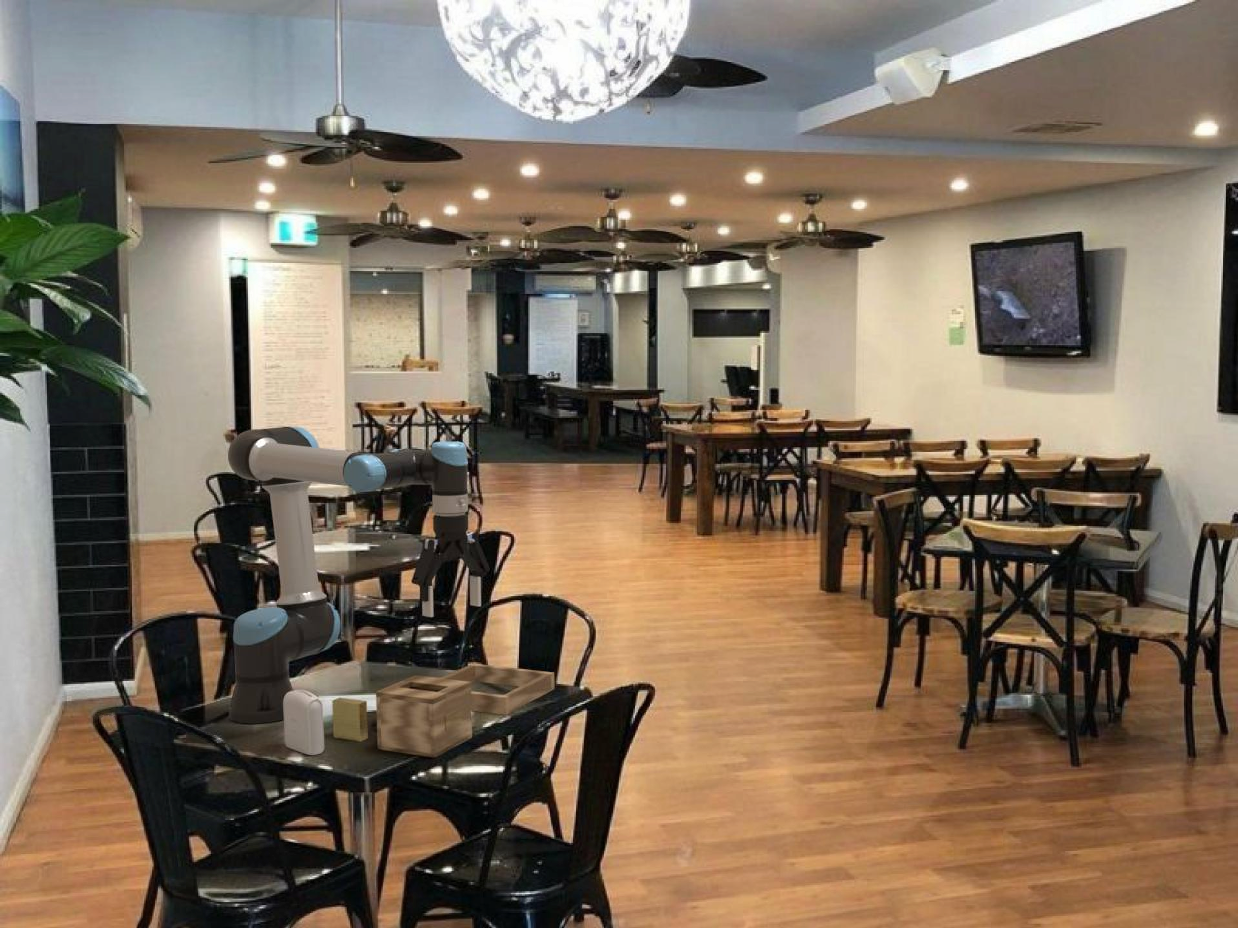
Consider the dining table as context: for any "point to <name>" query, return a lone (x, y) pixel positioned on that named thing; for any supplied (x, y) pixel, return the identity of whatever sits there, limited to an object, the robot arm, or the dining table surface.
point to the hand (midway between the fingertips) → (452, 610)
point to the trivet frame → (526, 680)
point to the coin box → (424, 715)
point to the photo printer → (303, 722)
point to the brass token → (350, 719)
